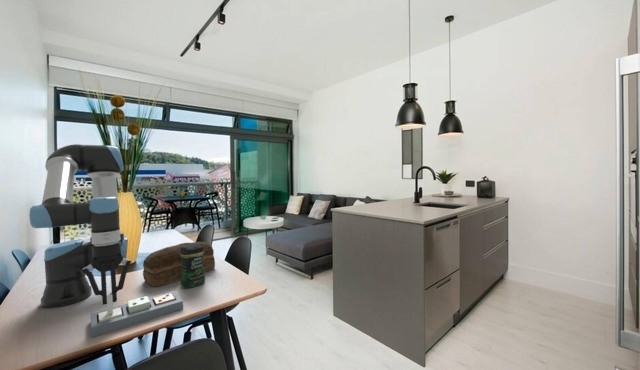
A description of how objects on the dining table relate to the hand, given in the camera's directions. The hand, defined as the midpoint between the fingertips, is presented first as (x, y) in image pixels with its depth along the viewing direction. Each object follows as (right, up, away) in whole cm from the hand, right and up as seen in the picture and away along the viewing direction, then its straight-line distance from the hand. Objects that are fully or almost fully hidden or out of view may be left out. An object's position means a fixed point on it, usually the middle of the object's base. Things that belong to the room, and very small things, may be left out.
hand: (110, 312), depth 90 cm
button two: (+6, -1, +5) cm, 8 cm away
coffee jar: (+13, -3, +32) cm, 34 cm away
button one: (0, -3, 0) cm, 3 cm away
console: (+6, -4, +5) cm, 9 cm away
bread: (+1, -2, +44) cm, 44 cm away
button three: (+12, -2, +11) cm, 16 cm away
